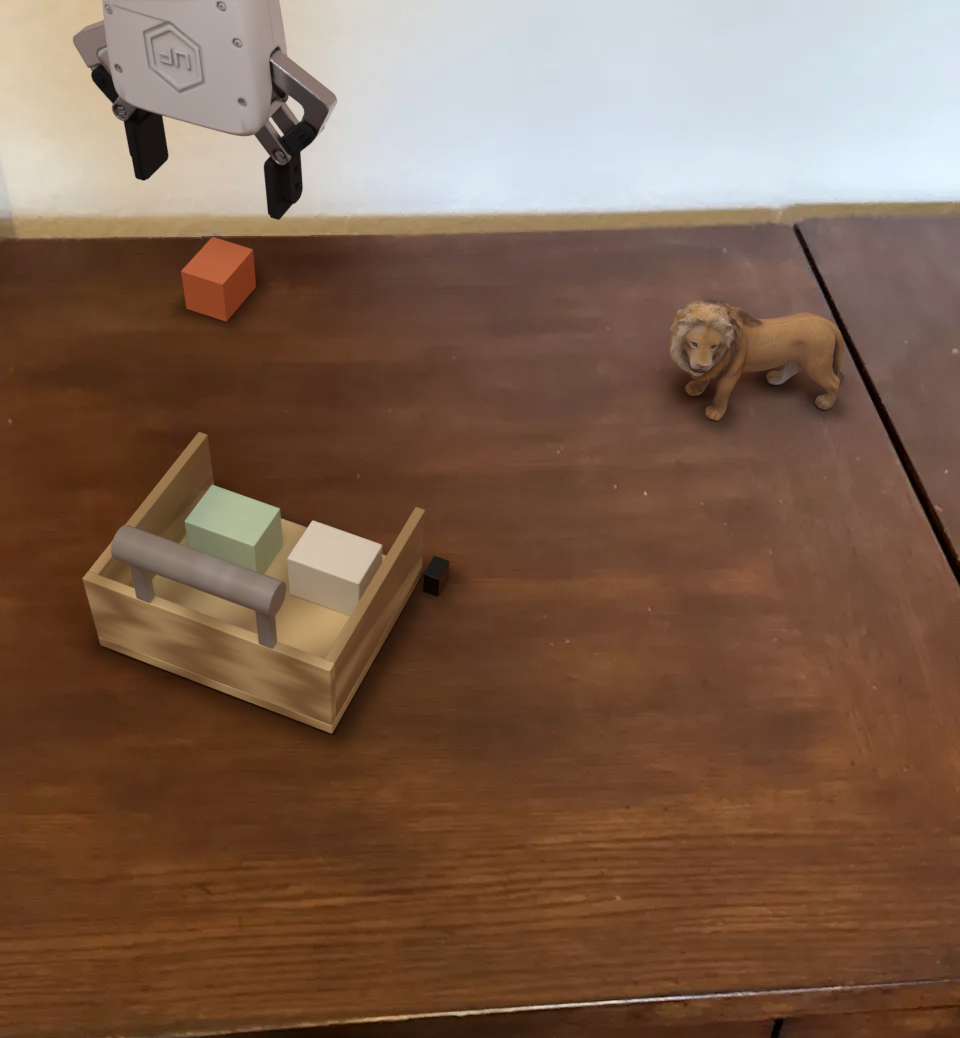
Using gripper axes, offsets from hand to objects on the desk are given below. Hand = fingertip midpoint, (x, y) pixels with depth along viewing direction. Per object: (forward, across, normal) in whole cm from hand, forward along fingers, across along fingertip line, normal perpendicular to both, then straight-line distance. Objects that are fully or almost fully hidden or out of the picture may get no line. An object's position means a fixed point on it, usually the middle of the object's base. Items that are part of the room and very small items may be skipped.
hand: (217, 188), depth 82 cm
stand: (+9, +15, -18) cm, 25 cm away
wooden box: (+9, +15, -24) cm, 30 cm away
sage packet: (+8, +12, -22) cm, 26 cm away
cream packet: (+8, +19, -22) cm, 30 cm away
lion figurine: (+10, +36, +6) cm, 38 cm away
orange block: (+9, -1, 0) cm, 9 cm away
